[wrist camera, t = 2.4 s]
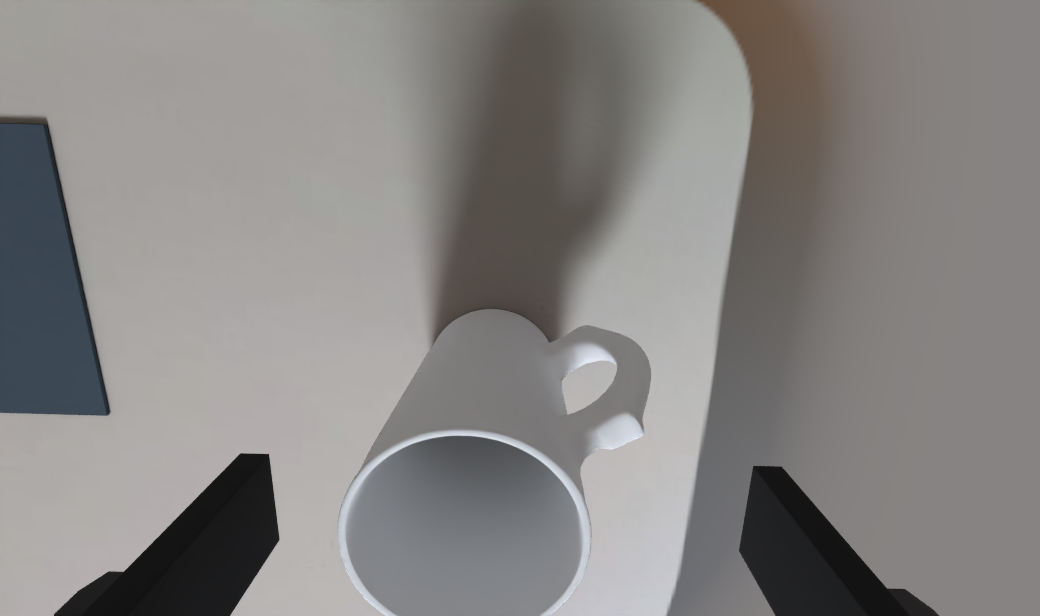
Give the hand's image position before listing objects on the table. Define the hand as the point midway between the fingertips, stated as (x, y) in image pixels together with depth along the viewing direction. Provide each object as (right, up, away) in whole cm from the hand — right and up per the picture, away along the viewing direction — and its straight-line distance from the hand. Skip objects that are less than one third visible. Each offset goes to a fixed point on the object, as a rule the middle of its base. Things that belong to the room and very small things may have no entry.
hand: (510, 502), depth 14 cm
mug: (0, +3, +11) cm, 12 cm away
